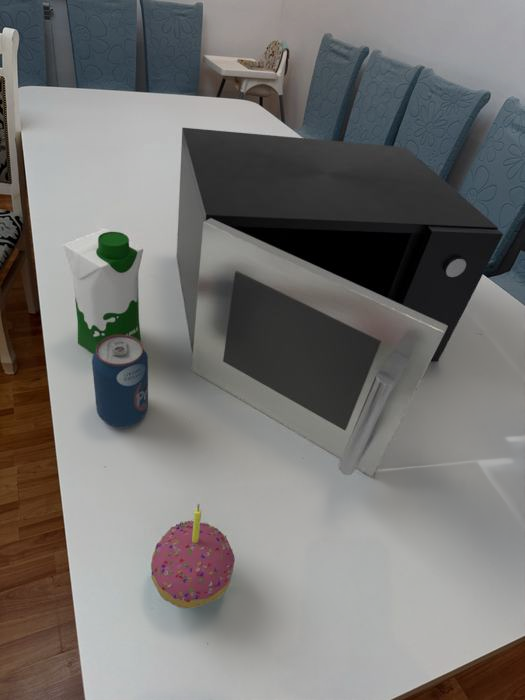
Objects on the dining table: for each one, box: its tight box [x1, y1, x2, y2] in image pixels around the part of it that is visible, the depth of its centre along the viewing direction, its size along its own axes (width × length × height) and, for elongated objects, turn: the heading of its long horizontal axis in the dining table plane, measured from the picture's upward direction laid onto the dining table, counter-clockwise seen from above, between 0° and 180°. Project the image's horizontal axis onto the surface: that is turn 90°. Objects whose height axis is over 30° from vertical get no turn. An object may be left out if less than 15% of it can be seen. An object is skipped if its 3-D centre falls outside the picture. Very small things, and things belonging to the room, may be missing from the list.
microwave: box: [176, 127, 504, 363], centre depth 88 cm, size 35×44×26 cm
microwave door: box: [191, 218, 448, 478], centre depth 63 cm, size 8×32×26 cm, turn 57°
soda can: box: [91, 335, 149, 429], centre depth 66 cm, size 7×7×12 cm
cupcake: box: [150, 503, 236, 609], centre depth 50 cm, size 9×8×12 cm
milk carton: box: [62, 228, 144, 355], centre depth 74 cm, size 9×9×20 cm
